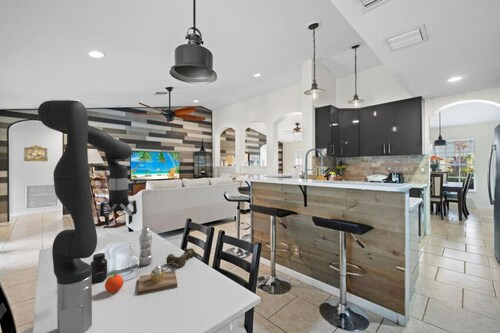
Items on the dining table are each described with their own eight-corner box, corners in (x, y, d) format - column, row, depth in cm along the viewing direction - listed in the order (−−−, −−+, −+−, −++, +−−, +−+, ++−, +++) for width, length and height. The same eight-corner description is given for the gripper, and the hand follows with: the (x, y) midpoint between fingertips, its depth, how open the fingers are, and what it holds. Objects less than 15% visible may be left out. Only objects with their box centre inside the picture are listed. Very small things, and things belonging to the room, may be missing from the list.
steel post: (161, 280, 106) (161, 266, 106) (154, 282, 105) (154, 267, 105) (161, 277, 109) (161, 264, 108) (154, 278, 107) (154, 265, 107)
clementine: (98, 295, 97) (98, 278, 97) (110, 286, 104) (110, 270, 104) (115, 296, 96) (115, 279, 96) (127, 287, 103) (126, 271, 102)
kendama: (198, 258, 136) (174, 271, 118) (185, 256, 140) (160, 268, 121) (198, 248, 136) (174, 260, 118) (185, 246, 140) (160, 257, 122)
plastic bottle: (139, 262, 128) (139, 227, 128) (152, 260, 131) (152, 225, 130) (138, 267, 122) (138, 230, 122) (152, 265, 125) (151, 228, 124)
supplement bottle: (98, 284, 106) (98, 258, 105) (86, 282, 107) (86, 257, 107) (110, 276, 112) (110, 252, 112) (98, 275, 114) (98, 251, 113)
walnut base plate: (177, 287, 103) (177, 283, 103) (137, 294, 97) (137, 291, 97) (174, 273, 116) (174, 270, 116) (139, 279, 110) (139, 276, 110)
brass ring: (164, 281, 105) (164, 272, 105) (150, 284, 103) (150, 275, 103) (164, 275, 110) (164, 267, 110) (150, 278, 108) (150, 269, 108)
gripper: (98, 190, 96) (98, 228, 97) (135, 188, 102) (136, 225, 102) (101, 188, 103) (102, 224, 104) (137, 186, 109) (137, 221, 109)
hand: (119, 224), depth 103 cm, fingers open, 8 cm apart
